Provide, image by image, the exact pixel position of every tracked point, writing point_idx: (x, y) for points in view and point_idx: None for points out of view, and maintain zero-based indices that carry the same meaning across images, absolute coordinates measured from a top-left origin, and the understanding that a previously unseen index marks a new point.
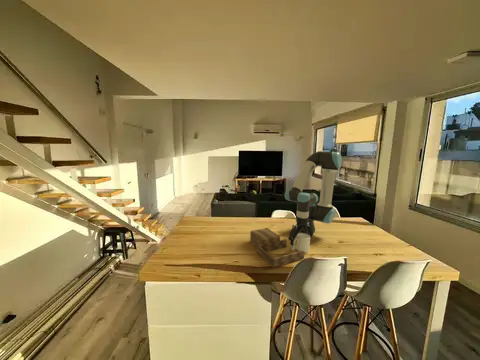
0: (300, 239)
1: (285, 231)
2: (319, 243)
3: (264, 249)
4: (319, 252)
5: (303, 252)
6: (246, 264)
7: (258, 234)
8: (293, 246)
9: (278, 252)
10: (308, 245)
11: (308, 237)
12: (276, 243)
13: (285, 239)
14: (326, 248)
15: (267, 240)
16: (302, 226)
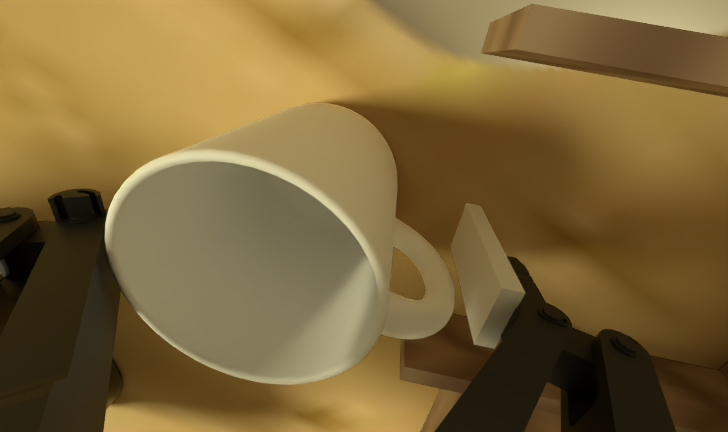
0: (388, 254)
1: (216, 416)
2: (52, 158)
3: (679, 381)
4: (178, 10)
5: (546, 13)
6: None
7: None
8: (491, 237)
9: (570, 286)
10: (281, 114)
11: (155, 219)
12: (547, 383)
13: (410, 377)
14: (29, 28)
15: None
16: None
